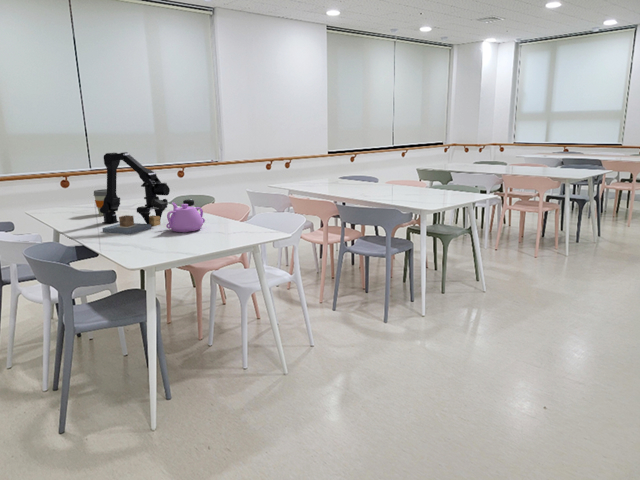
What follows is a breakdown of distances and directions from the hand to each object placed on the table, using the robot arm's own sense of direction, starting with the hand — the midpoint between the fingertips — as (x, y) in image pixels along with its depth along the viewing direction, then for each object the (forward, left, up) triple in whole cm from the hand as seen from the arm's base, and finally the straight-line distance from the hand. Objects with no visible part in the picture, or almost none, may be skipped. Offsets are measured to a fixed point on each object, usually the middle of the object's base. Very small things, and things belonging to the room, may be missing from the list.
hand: (153, 222), depth 273 cm
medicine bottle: (+11, +18, -1) cm, 21 cm away
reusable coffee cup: (-53, +20, -1) cm, 57 cm away
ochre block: (0, 0, -1) cm, 1 cm away
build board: (-5, -15, -1) cm, 16 cm away
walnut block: (-5, -15, +1) cm, 16 cm away
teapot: (+24, -5, -1) cm, 25 cm away
